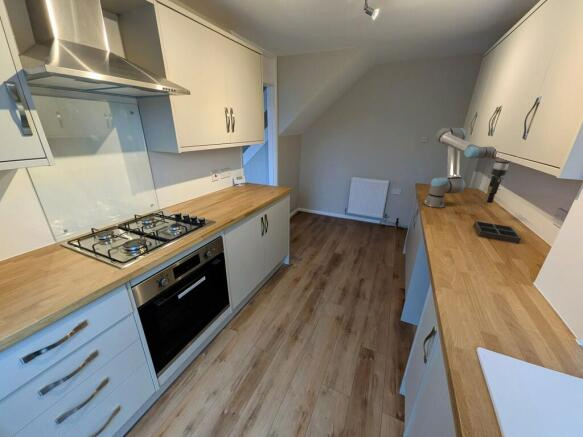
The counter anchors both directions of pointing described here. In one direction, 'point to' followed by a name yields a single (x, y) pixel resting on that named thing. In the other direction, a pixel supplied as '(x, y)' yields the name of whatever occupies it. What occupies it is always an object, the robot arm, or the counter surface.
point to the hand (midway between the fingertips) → (488, 201)
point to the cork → (488, 194)
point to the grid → (496, 232)
